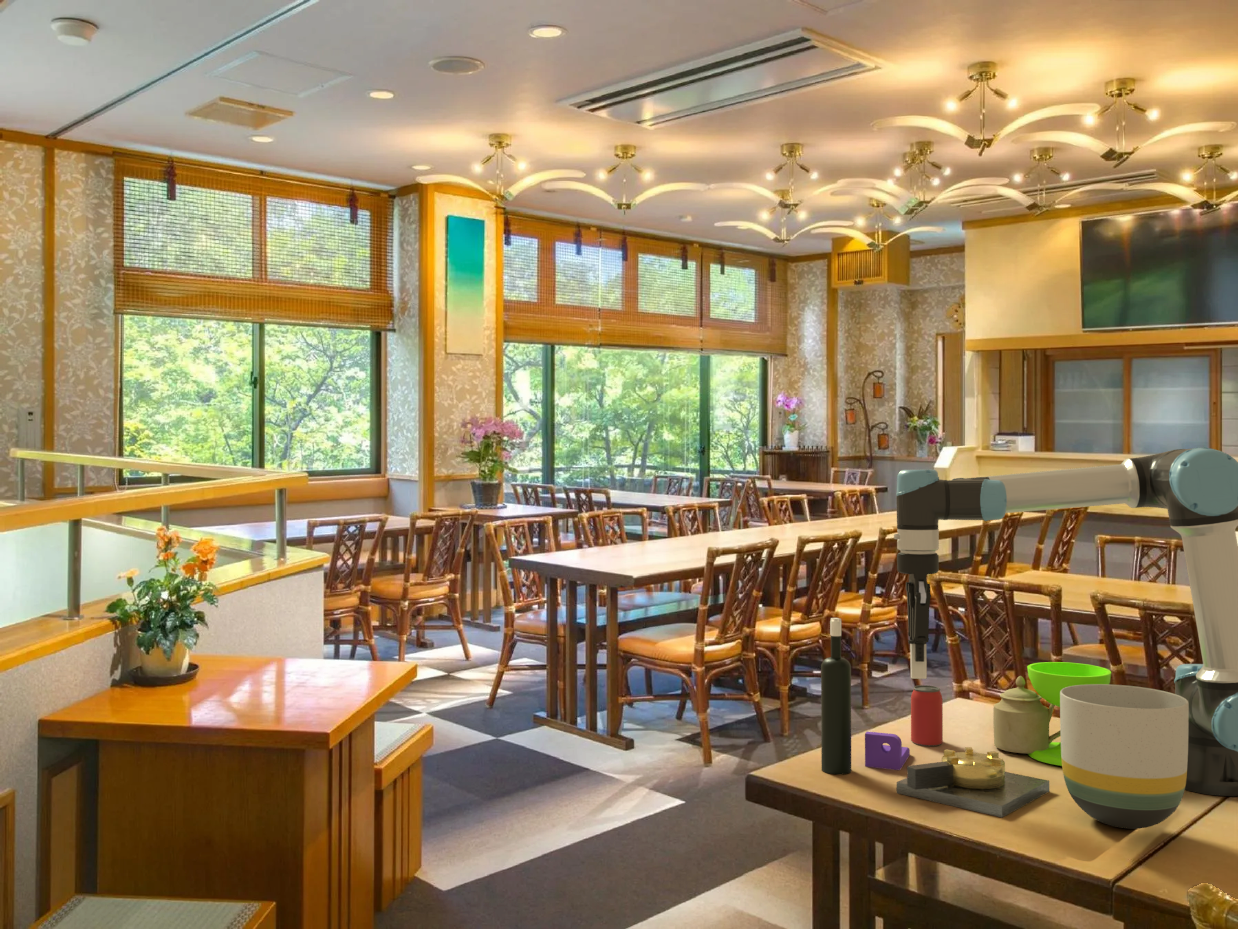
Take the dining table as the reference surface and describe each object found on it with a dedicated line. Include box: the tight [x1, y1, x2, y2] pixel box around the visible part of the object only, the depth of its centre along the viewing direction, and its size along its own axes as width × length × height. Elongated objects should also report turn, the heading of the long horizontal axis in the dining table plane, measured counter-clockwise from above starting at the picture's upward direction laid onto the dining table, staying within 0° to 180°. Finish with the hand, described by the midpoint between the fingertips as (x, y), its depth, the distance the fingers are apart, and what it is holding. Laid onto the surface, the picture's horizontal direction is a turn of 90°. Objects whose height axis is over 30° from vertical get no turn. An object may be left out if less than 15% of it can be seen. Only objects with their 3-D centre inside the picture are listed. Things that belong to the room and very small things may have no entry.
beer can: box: [910, 684, 944, 747], centre depth 232 cm, size 7×7×12 cm
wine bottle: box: [820, 617, 852, 775], centre depth 212 cm, size 6×6×30 cm
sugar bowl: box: [992, 675, 1061, 755], centre depth 227 cm, size 15×11×15 cm
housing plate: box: [896, 771, 1050, 818], centre depth 198 cm, size 20×20×2 cm
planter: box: [1059, 684, 1189, 830], centre depth 181 cm, size 20×20×21 cm
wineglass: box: [1026, 661, 1112, 767], centre depth 222 cm, size 16×16×18 cm
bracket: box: [864, 731, 911, 771], centre depth 219 cm, size 12×7×7 cm, turn 156°
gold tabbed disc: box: [906, 746, 1006, 790], centre depth 196 cm, size 19×11×5 cm, turn 111°
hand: (918, 677), depth 201 cm, fingers closed
